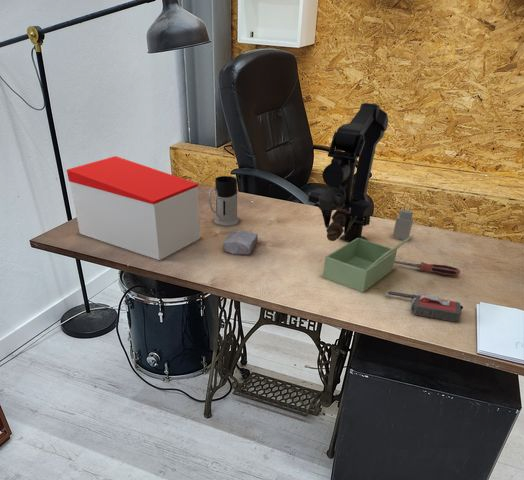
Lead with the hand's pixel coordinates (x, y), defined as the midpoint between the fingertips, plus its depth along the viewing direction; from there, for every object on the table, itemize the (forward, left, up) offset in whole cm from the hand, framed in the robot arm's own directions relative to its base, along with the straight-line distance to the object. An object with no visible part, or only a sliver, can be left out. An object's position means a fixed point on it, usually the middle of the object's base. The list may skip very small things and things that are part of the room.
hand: (335, 230), depth 141 cm
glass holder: (-1, -47, -11) cm, 48 cm away
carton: (0, +10, -11) cm, 15 cm away
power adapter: (-35, +7, -11) cm, 37 cm away
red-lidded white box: (+27, -59, -11) cm, 66 cm away
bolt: (0, 0, -1) cm, 1 cm away
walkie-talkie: (+6, +33, -11) cm, 35 cm away
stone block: (+10, -29, -11) cm, 33 cm away
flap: (0, +18, -1) cm, 18 cm away
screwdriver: (-15, +22, -11) cm, 29 cm away
